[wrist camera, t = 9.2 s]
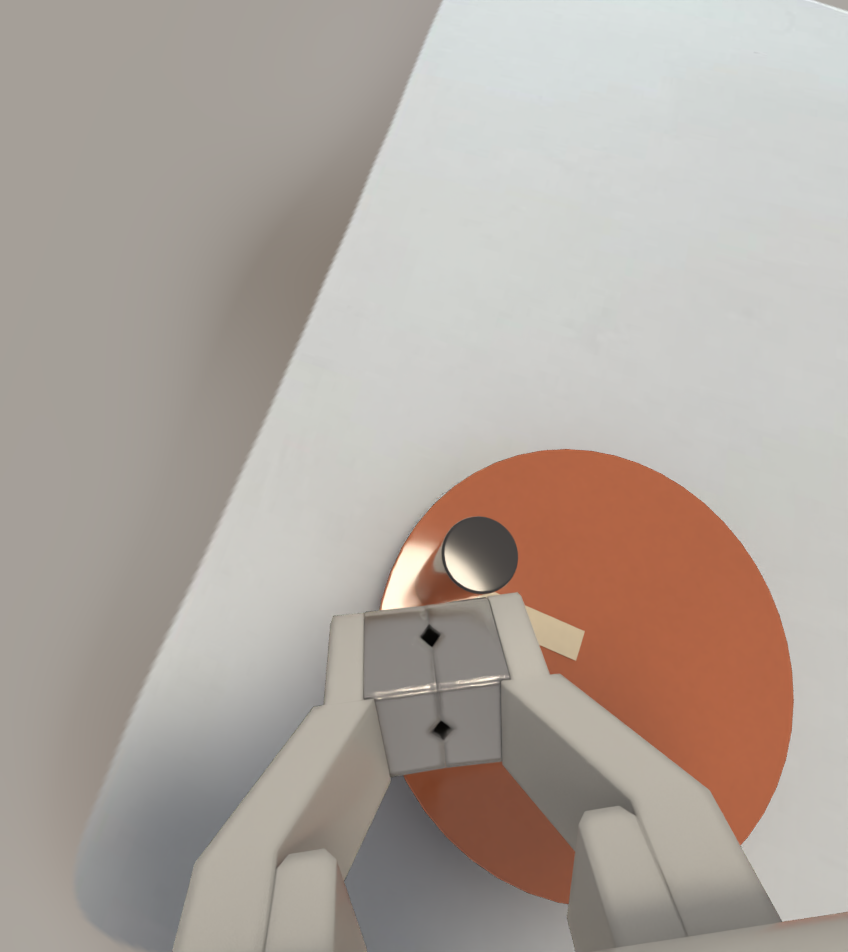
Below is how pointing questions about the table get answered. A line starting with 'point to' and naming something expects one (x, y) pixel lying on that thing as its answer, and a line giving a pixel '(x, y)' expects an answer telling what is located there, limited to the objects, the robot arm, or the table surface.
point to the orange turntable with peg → (607, 637)
